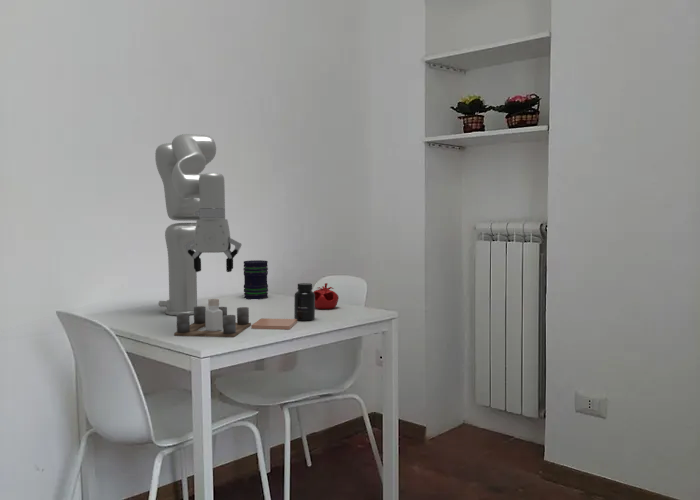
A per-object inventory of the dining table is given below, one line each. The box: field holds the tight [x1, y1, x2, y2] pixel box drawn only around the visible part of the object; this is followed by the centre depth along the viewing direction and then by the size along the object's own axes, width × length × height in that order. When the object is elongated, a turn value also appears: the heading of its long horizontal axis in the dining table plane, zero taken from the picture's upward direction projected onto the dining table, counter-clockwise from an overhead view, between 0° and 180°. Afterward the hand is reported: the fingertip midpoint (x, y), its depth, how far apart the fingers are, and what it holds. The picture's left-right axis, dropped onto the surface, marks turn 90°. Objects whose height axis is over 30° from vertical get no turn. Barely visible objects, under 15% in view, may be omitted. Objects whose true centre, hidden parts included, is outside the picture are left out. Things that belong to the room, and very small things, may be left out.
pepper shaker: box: [205, 298, 223, 331], centre depth 195 cm, size 4×4×10 cm
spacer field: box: [173, 305, 252, 338], centre depth 195 cm, size 18×18×6 cm
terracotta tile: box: [250, 317, 298, 330], centre depth 204 cm, size 12×12×1 cm
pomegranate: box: [313, 282, 339, 310], centre depth 237 cm, size 10×10×9 cm
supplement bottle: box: [293, 282, 316, 322], centre depth 213 cm, size 7×7×12 cm
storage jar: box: [242, 259, 269, 300], centre depth 262 cm, size 10×10×15 cm
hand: (213, 271), depth 194 cm, fingers open, 9 cm apart
